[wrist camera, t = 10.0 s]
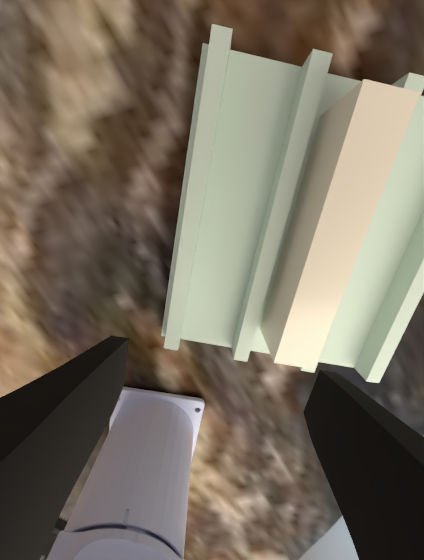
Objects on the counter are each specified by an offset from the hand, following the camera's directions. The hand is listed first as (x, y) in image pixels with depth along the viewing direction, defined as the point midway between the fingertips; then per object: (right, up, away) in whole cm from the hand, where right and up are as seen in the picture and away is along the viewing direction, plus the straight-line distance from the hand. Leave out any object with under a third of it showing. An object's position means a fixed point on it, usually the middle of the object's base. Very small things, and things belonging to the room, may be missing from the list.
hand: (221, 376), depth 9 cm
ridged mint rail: (+6, +7, +8) cm, 12 cm away
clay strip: (+6, +6, +7) cm, 11 cm away
